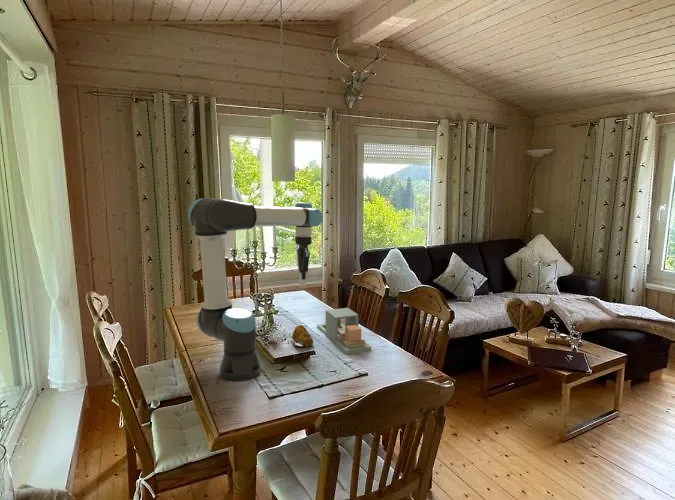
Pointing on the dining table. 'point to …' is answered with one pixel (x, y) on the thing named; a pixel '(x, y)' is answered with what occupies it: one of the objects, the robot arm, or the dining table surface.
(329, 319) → the tunnel deck
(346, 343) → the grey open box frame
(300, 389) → the dining table surface
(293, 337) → the rock
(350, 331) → the block
